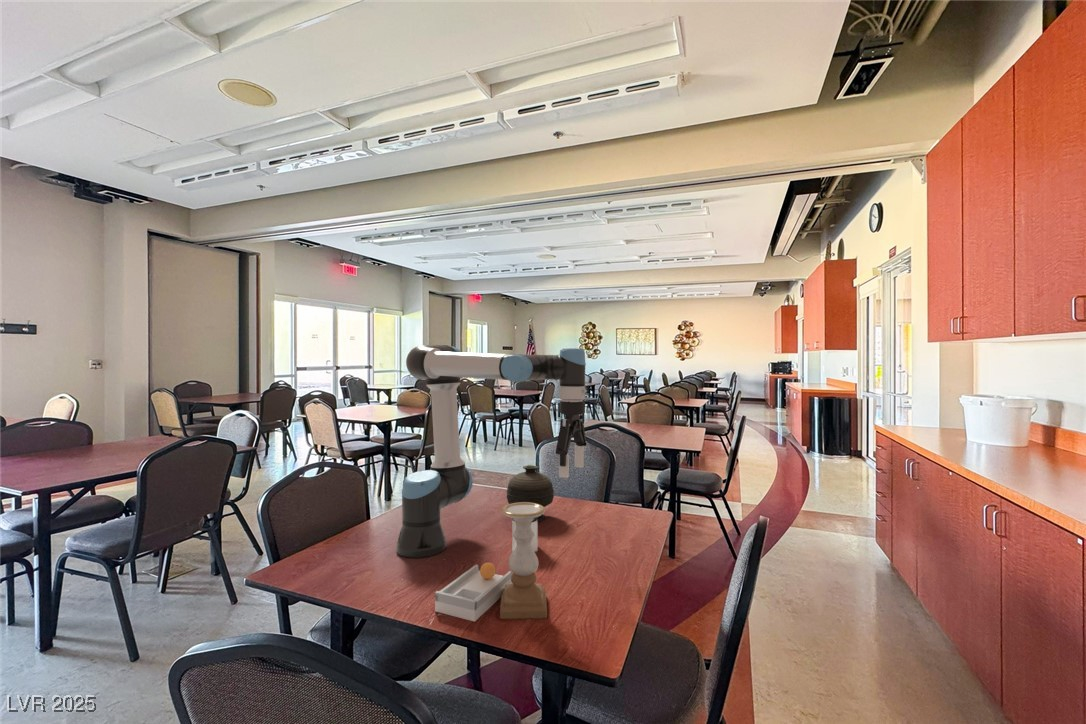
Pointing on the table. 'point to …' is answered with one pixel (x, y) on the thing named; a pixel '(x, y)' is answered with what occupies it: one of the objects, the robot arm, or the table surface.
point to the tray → (470, 594)
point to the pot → (530, 488)
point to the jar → (534, 540)
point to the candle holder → (523, 568)
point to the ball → (487, 570)
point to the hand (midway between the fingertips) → (571, 472)
